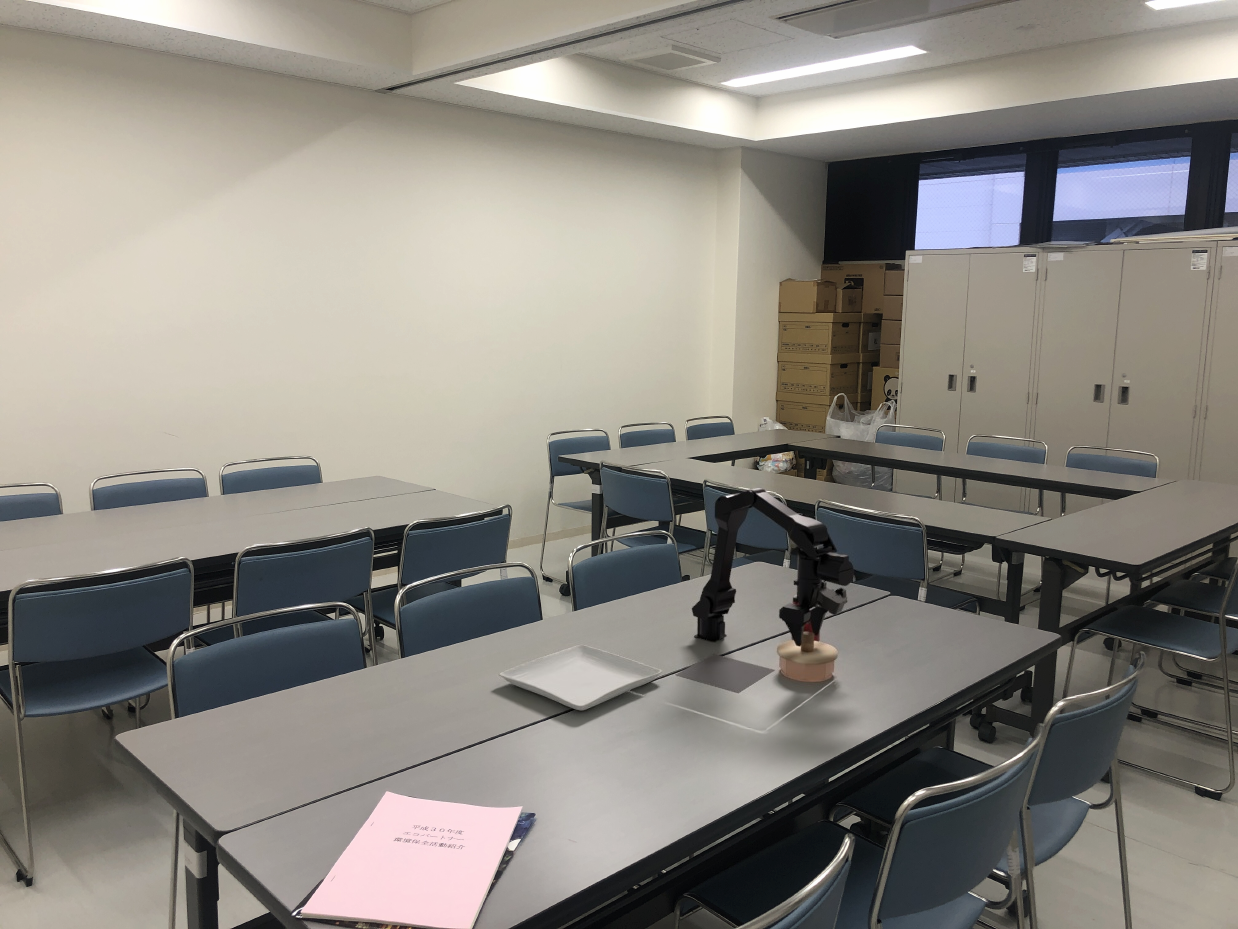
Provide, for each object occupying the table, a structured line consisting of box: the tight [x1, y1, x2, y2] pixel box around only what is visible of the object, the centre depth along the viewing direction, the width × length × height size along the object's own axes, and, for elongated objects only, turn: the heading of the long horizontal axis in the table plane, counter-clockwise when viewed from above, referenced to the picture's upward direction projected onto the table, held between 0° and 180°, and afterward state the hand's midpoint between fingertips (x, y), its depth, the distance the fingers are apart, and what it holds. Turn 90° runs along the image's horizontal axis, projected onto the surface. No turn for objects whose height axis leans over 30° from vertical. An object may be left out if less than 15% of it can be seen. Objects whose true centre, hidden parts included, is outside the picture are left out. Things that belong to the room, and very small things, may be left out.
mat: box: [675, 653, 775, 694], centre depth 211 cm, size 17×17×1 cm
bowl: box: [778, 656, 835, 683], centre depth 211 cm, size 12×12×5 cm
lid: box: [776, 632, 839, 664], centre depth 210 cm, size 14×14×5 cm
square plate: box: [498, 644, 664, 711], centre depth 205 cm, size 27×27×4 cm
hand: (807, 640), depth 210 cm, fingers open, 9 cm apart
